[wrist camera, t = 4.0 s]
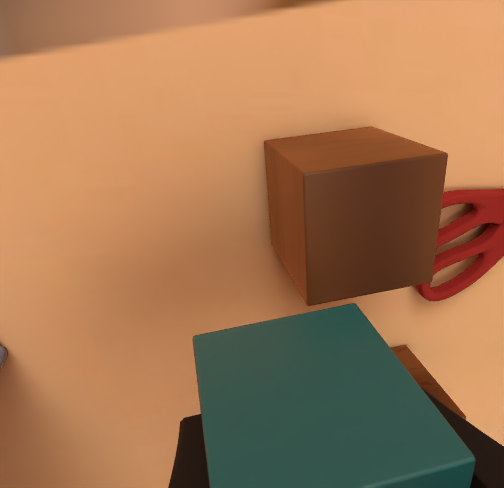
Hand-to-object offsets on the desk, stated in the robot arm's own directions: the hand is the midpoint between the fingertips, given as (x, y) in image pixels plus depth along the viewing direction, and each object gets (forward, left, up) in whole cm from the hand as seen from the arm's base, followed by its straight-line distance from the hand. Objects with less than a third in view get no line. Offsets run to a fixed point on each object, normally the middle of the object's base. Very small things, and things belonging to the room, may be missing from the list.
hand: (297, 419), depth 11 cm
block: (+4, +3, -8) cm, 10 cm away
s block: (0, 0, -1) cm, 1 cm away
